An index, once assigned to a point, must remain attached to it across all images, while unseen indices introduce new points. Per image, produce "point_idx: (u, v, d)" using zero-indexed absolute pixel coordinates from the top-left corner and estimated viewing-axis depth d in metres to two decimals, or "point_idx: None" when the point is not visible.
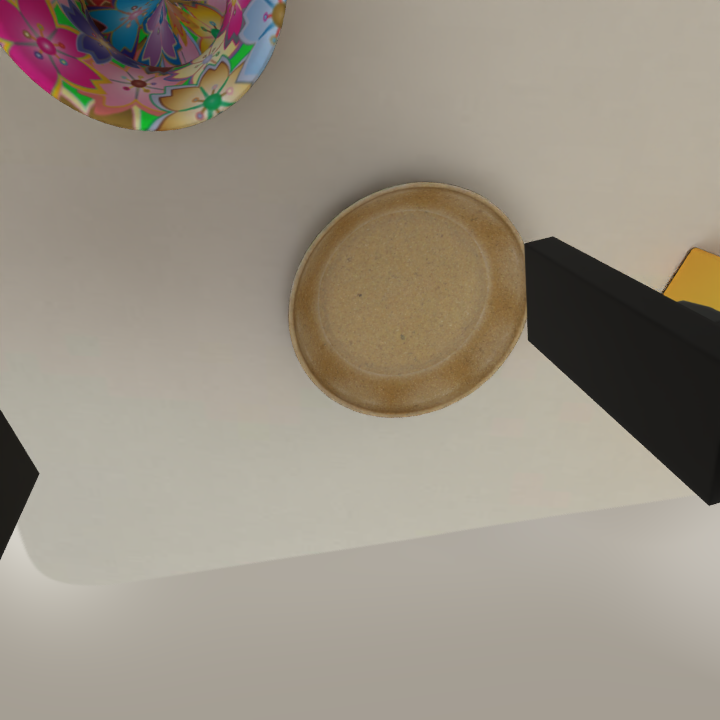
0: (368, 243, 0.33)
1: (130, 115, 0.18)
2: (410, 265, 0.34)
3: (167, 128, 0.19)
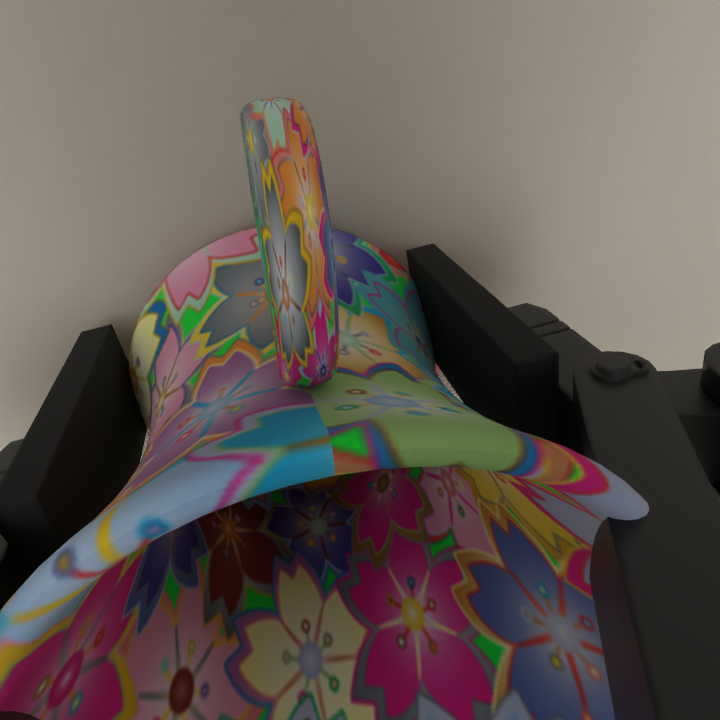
0: None
1: None
2: None
3: None
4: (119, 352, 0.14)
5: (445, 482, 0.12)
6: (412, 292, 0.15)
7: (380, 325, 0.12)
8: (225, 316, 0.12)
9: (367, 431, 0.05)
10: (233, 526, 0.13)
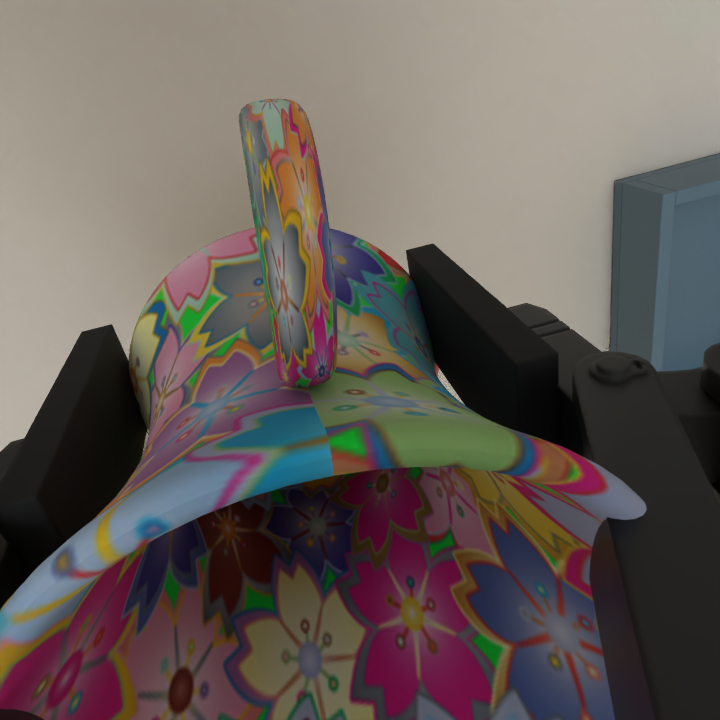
0: None
1: None
2: None
3: None
4: (119, 352, 0.14)
5: (444, 482, 0.12)
6: (411, 292, 0.15)
7: (379, 325, 0.12)
8: (224, 317, 0.12)
9: (365, 432, 0.05)
10: (232, 526, 0.13)
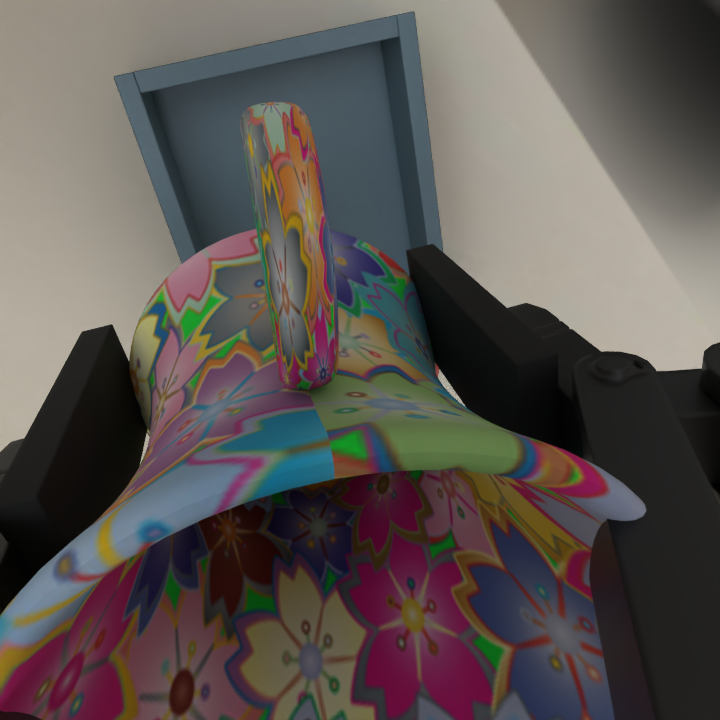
0: None
1: None
2: None
3: None
4: (120, 352, 0.14)
5: (445, 483, 0.12)
6: (412, 293, 0.15)
7: (380, 327, 0.12)
8: (225, 318, 0.12)
9: (367, 435, 0.05)
10: (233, 527, 0.13)
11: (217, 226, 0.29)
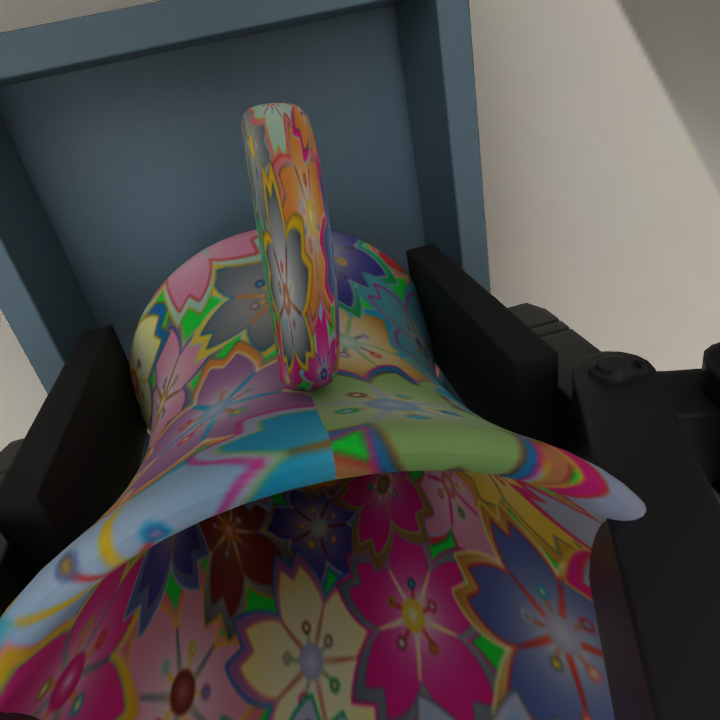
0: None
1: None
2: None
3: None
4: (119, 352, 0.14)
5: (445, 484, 0.12)
6: (412, 294, 0.15)
7: (380, 327, 0.12)
8: (226, 318, 0.12)
9: (368, 435, 0.05)
10: (234, 527, 0.13)
11: (127, 311, 0.18)
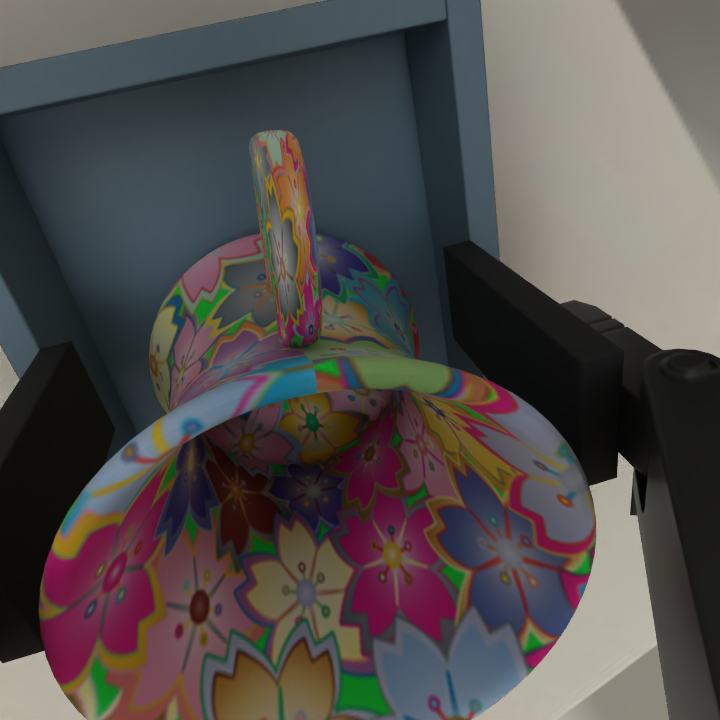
0: None
1: None
2: None
3: None
4: (79, 369, 0.14)
5: (419, 444, 0.14)
6: (393, 288, 0.17)
7: (362, 311, 0.14)
8: (233, 305, 0.14)
9: (340, 361, 0.08)
10: (240, 488, 0.16)
11: (130, 342, 0.18)
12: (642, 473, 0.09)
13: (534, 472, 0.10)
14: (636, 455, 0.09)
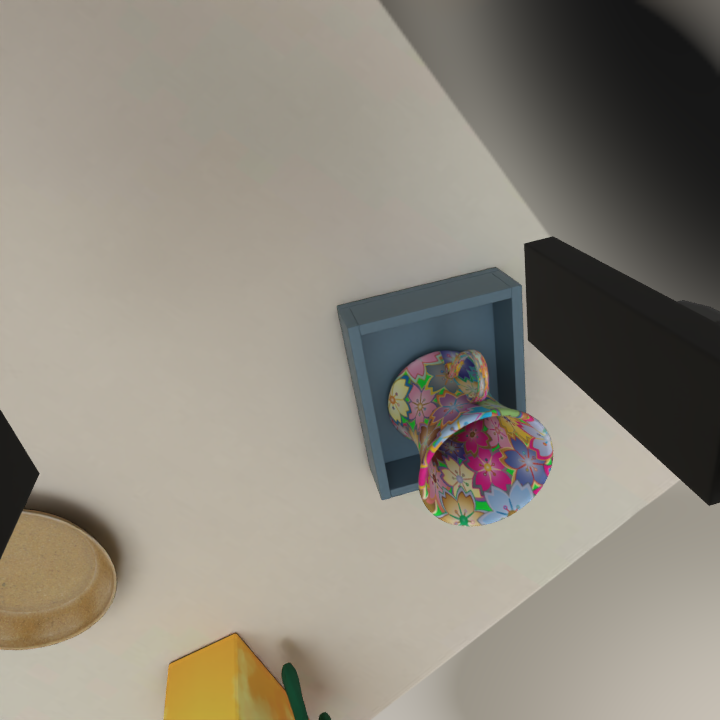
0: (20, 523, 0.44)
1: (434, 507, 0.37)
2: (41, 549, 0.45)
3: (441, 519, 0.38)
4: None
5: (496, 430, 0.42)
6: None
7: None
8: (435, 382, 0.41)
9: (496, 409, 0.35)
10: None
11: (377, 389, 0.45)
12: None
13: (537, 436, 0.37)
14: None
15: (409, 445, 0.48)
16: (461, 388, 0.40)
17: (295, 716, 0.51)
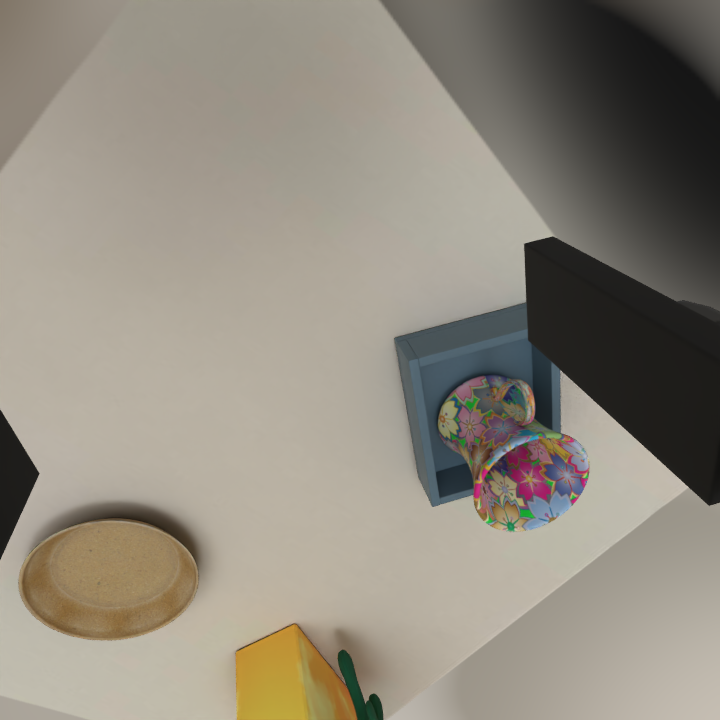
0: (116, 530, 0.50)
1: (486, 516, 0.43)
2: (132, 552, 0.51)
3: (492, 526, 0.43)
4: None
5: (536, 446, 0.47)
6: (521, 392, 0.50)
7: (521, 407, 0.47)
8: (482, 405, 0.47)
9: (541, 433, 0.40)
10: None
11: (428, 409, 0.50)
12: None
13: (575, 454, 0.43)
14: None
15: (454, 457, 0.54)
16: (506, 411, 0.45)
17: (352, 697, 0.57)
